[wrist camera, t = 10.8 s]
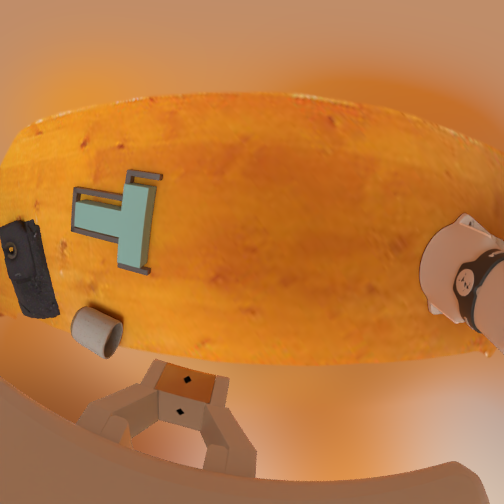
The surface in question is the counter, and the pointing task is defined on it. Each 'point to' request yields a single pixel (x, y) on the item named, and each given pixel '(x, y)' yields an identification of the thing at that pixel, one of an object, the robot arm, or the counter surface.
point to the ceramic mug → (96, 331)
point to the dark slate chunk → (28, 269)
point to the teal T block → (122, 221)
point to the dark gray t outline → (115, 196)
